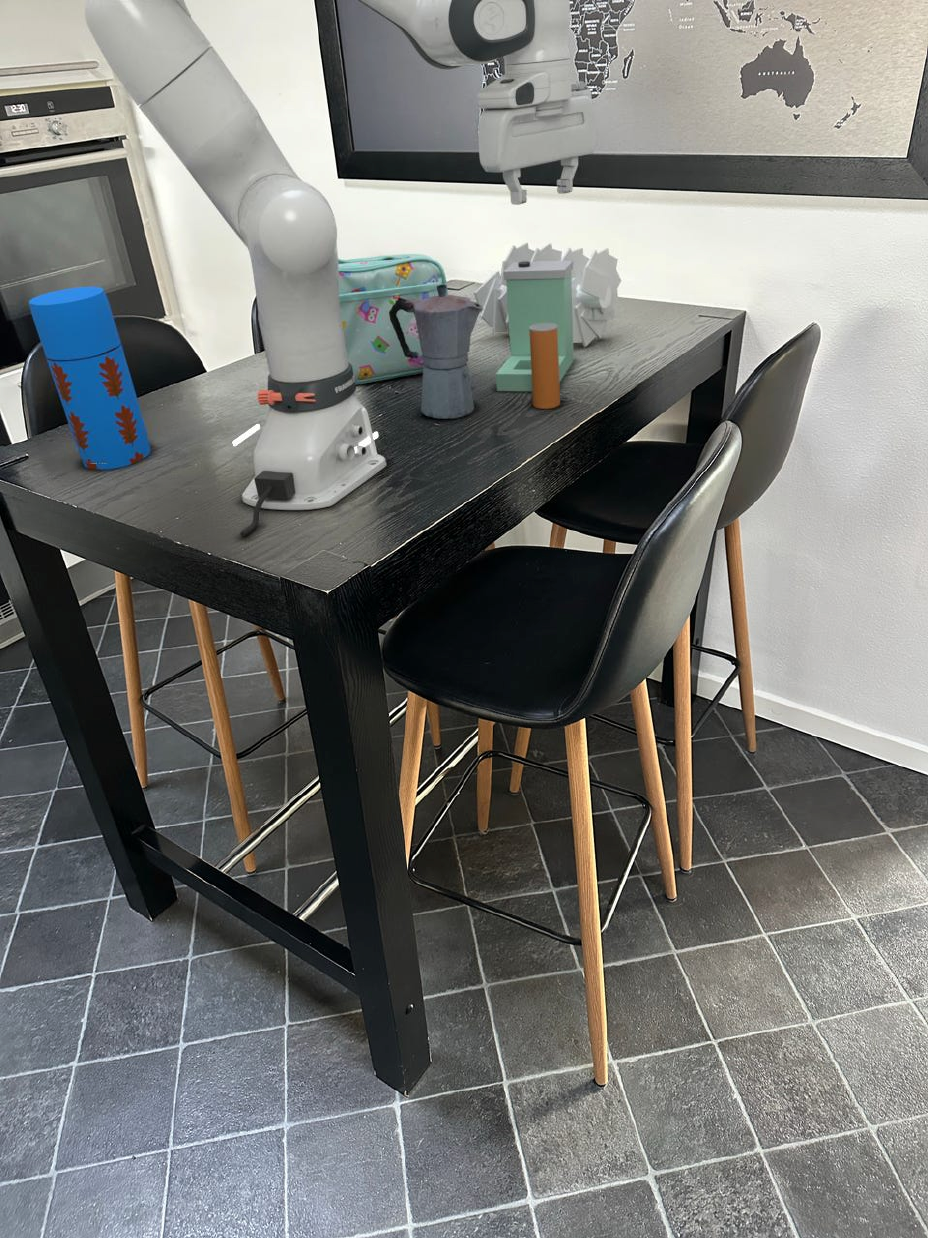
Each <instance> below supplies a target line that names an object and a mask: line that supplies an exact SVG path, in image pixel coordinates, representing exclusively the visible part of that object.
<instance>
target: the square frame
mask: <svg viewBox="0 0 928 1238" xmlns="http://www.w3.org/2000/svg"><path fill="white" fill-rule="evenodd" d="M566 373H567V372H566V356H559V383H560V384H561V381H562V380H563V378H564V377H565V375H566ZM495 385H496V387H495V388H496V392H532V374H531V356H511V355H510V356H509V357H508V358H507V360H505V362H504V363H503V364H502V365H501V367H500V368H499V369H498V370H497V371H496V373H495Z"/></svg>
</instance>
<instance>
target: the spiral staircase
mask: <svg viewBox="0 0 928 1238" xmlns="http://www.w3.org/2000/svg"><path fill="white" fill-rule="evenodd" d="M609 251H610V250H609V247H606V248H604V249H602V250H600V251H599V252H598V251H597V249H596V250H593V251H592V253H591V255H590V257H587V256H586V255H584V248H583V247H579V248H577V249H574V250H572V248H571V247H568V248H567V249H566V251H565V252H564V254H563V251H562V250H558V249H555V248H553V245H552V243H551V242H549V243H547V244H546V245H545V246H543V247H542V248H539V247H536V248H535V250H533V249H531V248H529V242H524V243H522V244H521V245H519V246H517V247H516V245H514V244H513V245H512V246H511V248H510V250H509V251H508V253H507V255H506V257H505V259H504V260H502V262H501V263H502V264H501V270H500V271H499V270H496V271H495V272H494V273H493V274H492V275H491V276H490V277H489V278H488V279H487V280H486V281H484V283H483V284H481V285H480V286H479V287H478V288H477V289H476V290H475V291H474V292H473V295H474V299H475V302H477V303H478V304H480V305H482V307H483V310H482V311H480V315H479V317H480V318H481V319H482V320H483V321H484V322H485V323H486V324H487V325H488V326H489V327H490V328H492V333H494V334H498V333H499V334H500V333H507V334H508V337H510V333H509V317H508V301H507V285H506V280H504V271H505V270H506V269H507V268H508V267H509V266H510V265H511V264H512V263H514V262H524V261H528V262H539V261H571V260H573V269H572V271H571V280H572V319H573V344H581V343H582V346H583V348H587V347H588V345H590V344H591V342H593V340H595V338H597V339H601V338H602V336H603V334H604V331H605V328H606V325H607V323H608V321H609V320H610V321H613V320H614V310H615V309H616V308H618V307H619V295H618V288H619V287H620V285H621V282H622V279H621V277H620V275H619V272H618V271H617V265H618V261H619V259H618V258H616V257H614V256H612V255H610V252H609ZM562 254H563V256H562Z"/></svg>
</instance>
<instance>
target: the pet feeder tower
mask: <svg viewBox="0 0 928 1238" xmlns="http://www.w3.org/2000/svg"><path fill="white" fill-rule="evenodd" d="M572 269H573V260H571V261H539V262H528V261H524V262H514V263H512V264H511V265H510V266H509V267H508V268H507V269H506V270H505V271H504V280H506V285H507V301H508V317H509V333H510V336H509V347H510V348H509V349H510V356H531V354H530V335H529V327H530V326H531V325H533V324H537V323H555V324H557V326H558V354H559V356H566V373H567V372H568V371H569V369H570V367H571V366H572V364H573V362H574V360H575V359H574V343H573V319H572V280H571V271H572Z"/></svg>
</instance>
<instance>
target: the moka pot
mask: <svg viewBox="0 0 928 1238" xmlns="http://www.w3.org/2000/svg"><path fill="white" fill-rule="evenodd" d="M446 289H447V290H448V285H447V286H446V285H438V286H437V291H438V296H432V297H427V298H425V299H422V300H417V299H410V300H407V299H403V298H398V300H397V301H396V303H395V305H393V306H392V309H391V310H390V311H389V316H390V321H391V323H392V325H393V328H394V330H395V332H396V335H397V337H398V340H399V341H400V345H401V347H402V350H403V352H404V355H405V356H406V357H410V358H416V359H417V358H418V356H419V354H418V353H417V352H411V351H410V350H409V347H408V345H407V343H406V342H405V341H406V340H405V337H404V333H403V331H402V328H401V326H400V322H399V319H398V318H397V312H398V311H399V310H404V311H406V312H409V313H414V315H415V319H416V325H417V330H418V334H419V340H420V346H421V351H422V358H423V364H424V367H423V373H422V385H421V399H420V412H421V413H422V414H423V415H425V416H427V417H430V418H431V419H444V420H448V419H449V420H450V419H451V420H452V419H457V418H462V417H465V416H467V415H470V414H471V413H472V412H473V411H474V410H475V405H474V398H473V391H472V386H471V380H470V373H469V366H468V360H469V357H468V356H469V355H468V353H470V347H471V346H470V345H471V336H472V332H473V331H474V328H475V325H476V323H477V320H478V318H479V316H480V314H481V312H480V311H482V310H483V307H482V305H480V304H478V303H477V301H473V300H471V298H470V297H466V296H460V295H454V294H448V295H446Z"/></svg>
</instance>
